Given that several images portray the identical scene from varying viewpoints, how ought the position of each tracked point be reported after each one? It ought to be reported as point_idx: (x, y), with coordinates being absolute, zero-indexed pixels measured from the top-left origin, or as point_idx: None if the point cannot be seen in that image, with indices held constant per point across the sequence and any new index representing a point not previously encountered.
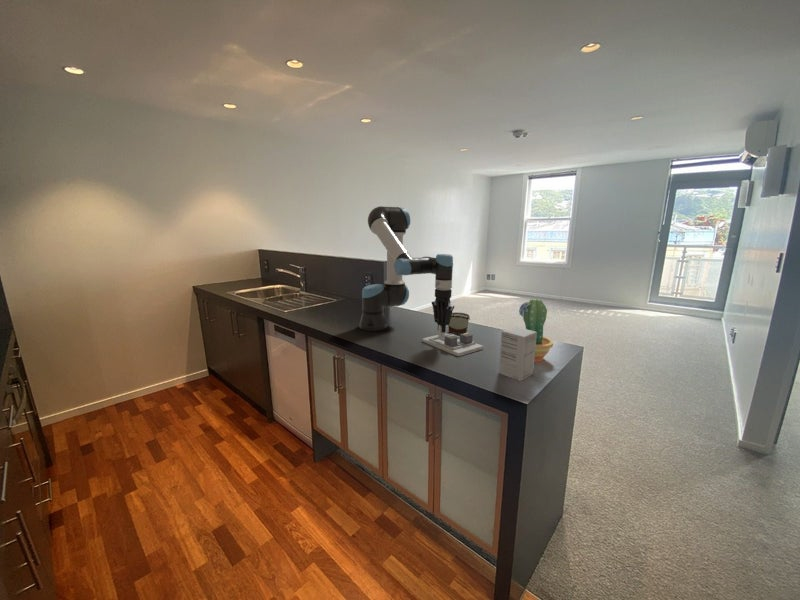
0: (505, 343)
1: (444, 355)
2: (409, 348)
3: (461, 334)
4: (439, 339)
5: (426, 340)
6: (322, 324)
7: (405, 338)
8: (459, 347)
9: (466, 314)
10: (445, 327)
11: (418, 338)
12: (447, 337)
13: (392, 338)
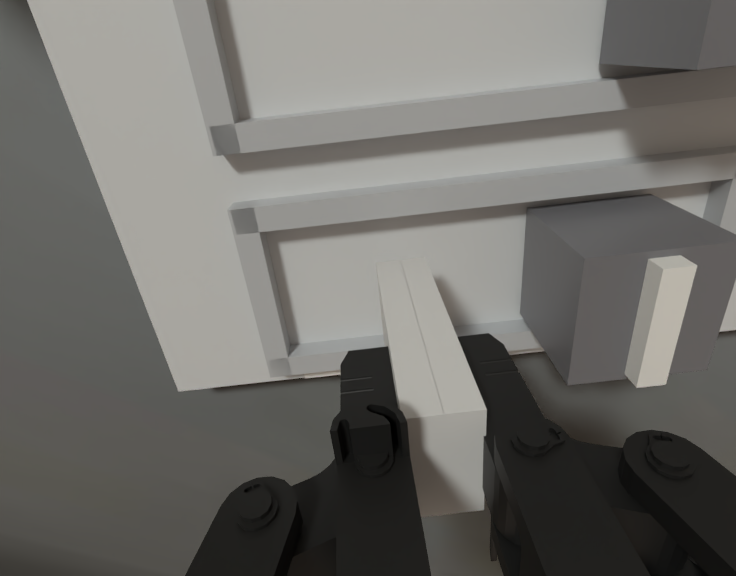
0: None
1: (639, 388)
2: None
3: (727, 42)
4: (299, 235)
5: (256, 380)
6: None
7: (33, 453)
8: (733, 225)
9: None
10: (534, 405)
11: (64, 351)
12: (631, 378)
13: (9, 533)
